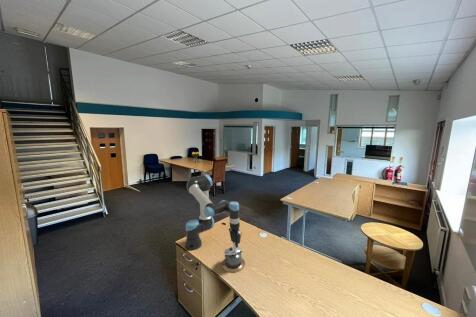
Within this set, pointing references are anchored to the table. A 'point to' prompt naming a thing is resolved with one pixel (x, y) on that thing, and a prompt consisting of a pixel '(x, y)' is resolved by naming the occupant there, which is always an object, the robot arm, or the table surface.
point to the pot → (233, 263)
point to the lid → (232, 251)
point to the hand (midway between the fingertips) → (235, 250)
